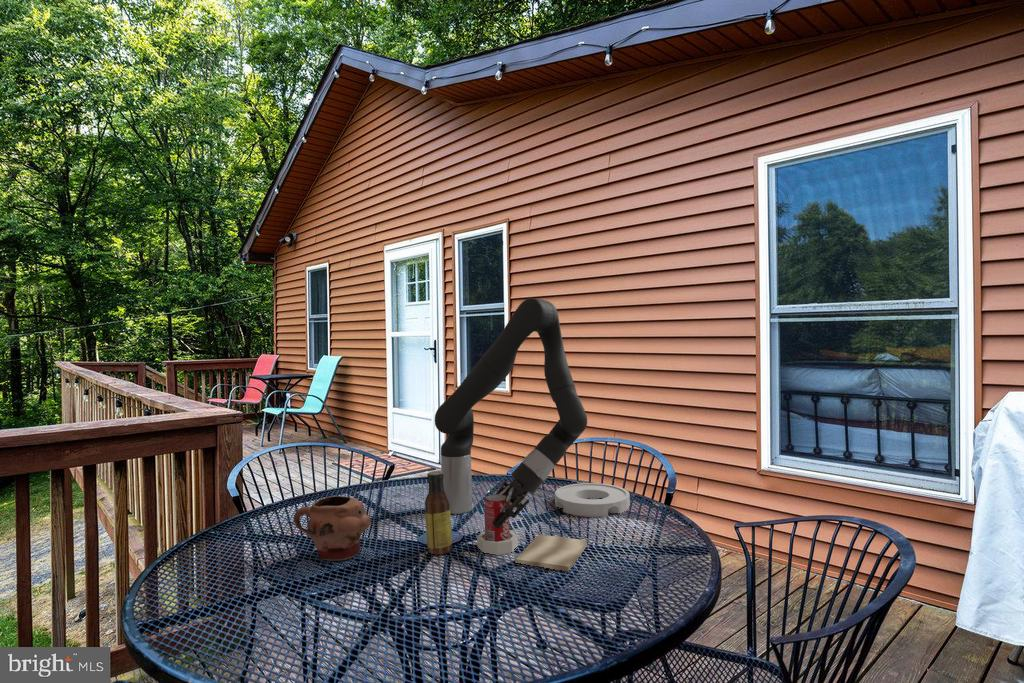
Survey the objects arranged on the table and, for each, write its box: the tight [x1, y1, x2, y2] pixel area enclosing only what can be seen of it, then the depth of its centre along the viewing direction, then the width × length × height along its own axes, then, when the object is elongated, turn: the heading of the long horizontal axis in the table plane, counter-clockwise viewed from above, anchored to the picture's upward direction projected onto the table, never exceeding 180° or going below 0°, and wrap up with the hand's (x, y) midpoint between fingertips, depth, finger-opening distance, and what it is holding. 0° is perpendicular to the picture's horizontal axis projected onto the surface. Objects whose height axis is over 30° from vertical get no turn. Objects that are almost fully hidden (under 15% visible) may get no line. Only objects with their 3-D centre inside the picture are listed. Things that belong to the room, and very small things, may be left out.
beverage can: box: [483, 493, 510, 542], centre depth 146 cm, size 6×6×12 cm
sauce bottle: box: [424, 470, 453, 556], centre depth 144 cm, size 6×6×20 cm
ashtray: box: [554, 482, 631, 518], centre depth 180 cm, size 23×23×4 cm
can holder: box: [476, 529, 519, 556], centre depth 146 cm, size 10×10×3 cm
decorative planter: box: [292, 495, 372, 562], centre depth 143 cm, size 20×12×14 cm, turn 88°
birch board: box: [514, 534, 588, 572], centre depth 141 cm, size 13×17×1 cm
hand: (490, 522), depth 146 cm, fingers closed on beverage can, 6 cm apart
